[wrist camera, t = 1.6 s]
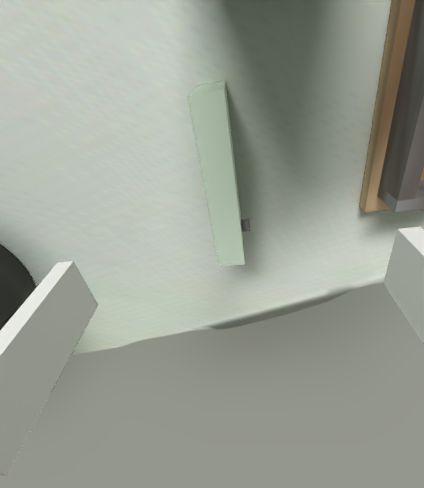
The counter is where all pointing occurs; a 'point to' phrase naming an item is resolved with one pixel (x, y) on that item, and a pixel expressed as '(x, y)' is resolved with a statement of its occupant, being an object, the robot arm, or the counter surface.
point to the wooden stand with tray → (398, 117)
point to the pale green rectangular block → (218, 169)
